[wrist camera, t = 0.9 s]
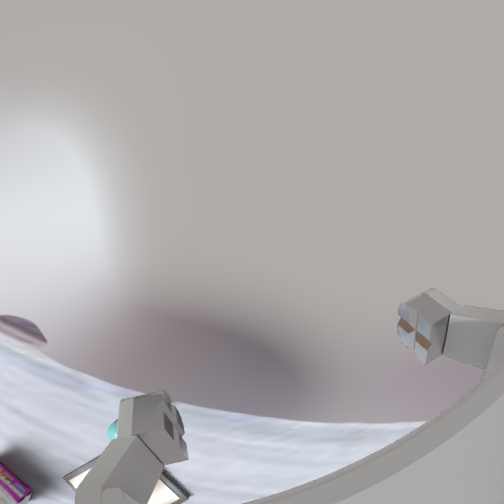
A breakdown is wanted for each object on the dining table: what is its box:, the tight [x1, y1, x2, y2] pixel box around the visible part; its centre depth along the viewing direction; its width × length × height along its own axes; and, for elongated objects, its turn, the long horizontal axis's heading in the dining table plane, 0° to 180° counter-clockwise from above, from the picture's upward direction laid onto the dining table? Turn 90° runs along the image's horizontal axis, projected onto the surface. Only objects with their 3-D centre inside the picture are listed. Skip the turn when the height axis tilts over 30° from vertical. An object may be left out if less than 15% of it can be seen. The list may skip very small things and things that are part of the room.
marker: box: [108, 419, 118, 441], centre depth 38 cm, size 3×3×13 cm
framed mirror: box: [63, 455, 189, 504], centre depth 40 cm, size 15×19×1 cm
